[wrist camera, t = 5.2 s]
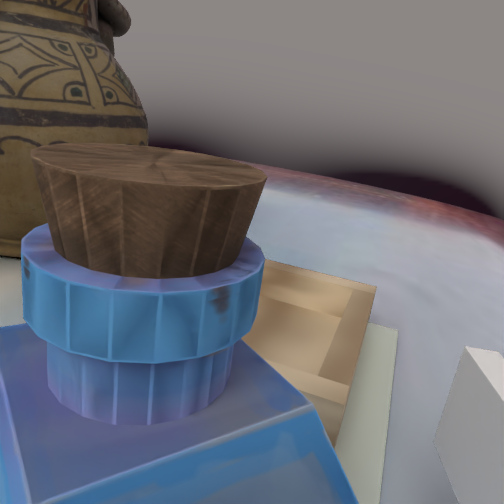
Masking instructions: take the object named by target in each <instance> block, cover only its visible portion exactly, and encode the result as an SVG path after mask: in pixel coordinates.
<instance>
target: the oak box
mask: <svg viewBox="0 0 504 504" xmlns="http://www.w3.org/2000/svg"><path fill="white" fill-rule="evenodd" d="M376 288H377V287H375V286H371V285H367V284H363V283H359V282H355V281H351V280H347V279H343V278H339V277H335V276H331V275H327V274H323V273H319V272H315V271H311V270H307V269H303V268H299V267H295V266H291V265H287V264H283V263H279V262H275V261H271V260H267V259H265V263H264V270H263V277H262V283H261V290H260V296H259V303H258V310H257V316H256V318H255V320H254V323H253V325H252V328H251V330H250V332H248V333H247V334H246V335H245V336H243V337H242V338H241V339H242V340H243V341H244V342H245V343H246V344H247V345H249V346H250V347H251V348H252V349H253V350H254V351H255V352H256V353H257V354H258V355H260V356H261V357H262V358H263V359H264V360H265V361H266V362H267V363H268V364H270V365H271V366H272V367H273V368H274V369H275V370H276V371H277V372H278V373H279V374H281V375H282V376H283V377H284V378H285V379H286V380H287V381H288V382H289V383H291V384H292V385H293V386H294V387H295V388H296V389H297V390H298V391H299V392H300V393H302V394H303V395H304V396H305V397H306V398H307V399H308V400H309V401H310V402H312V403H313V405H314V407H315V409H316V411H317V413H318V415H319V418H320V420H321V422H322V424H323V426H324V428H325V431H326V433H327V435H328V437H329V439H330V441H331V444H332V446H333V448H334V449H335V446H336V442H337V438H338V434H339V431H340V427H341V423H342V420H343V416H344V412H345V408H346V405H347V401H348V397H349V393H350V390H351V386H352V382H353V378H354V375H355V371H356V367H357V363H358V360H359V356H360V352H361V348H362V345H363V341H364V337H365V333H366V329H367V325H368V321H369V317H370V313H371V309H372V304H373V300H374V296H375V292H376Z"/></svg>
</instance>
